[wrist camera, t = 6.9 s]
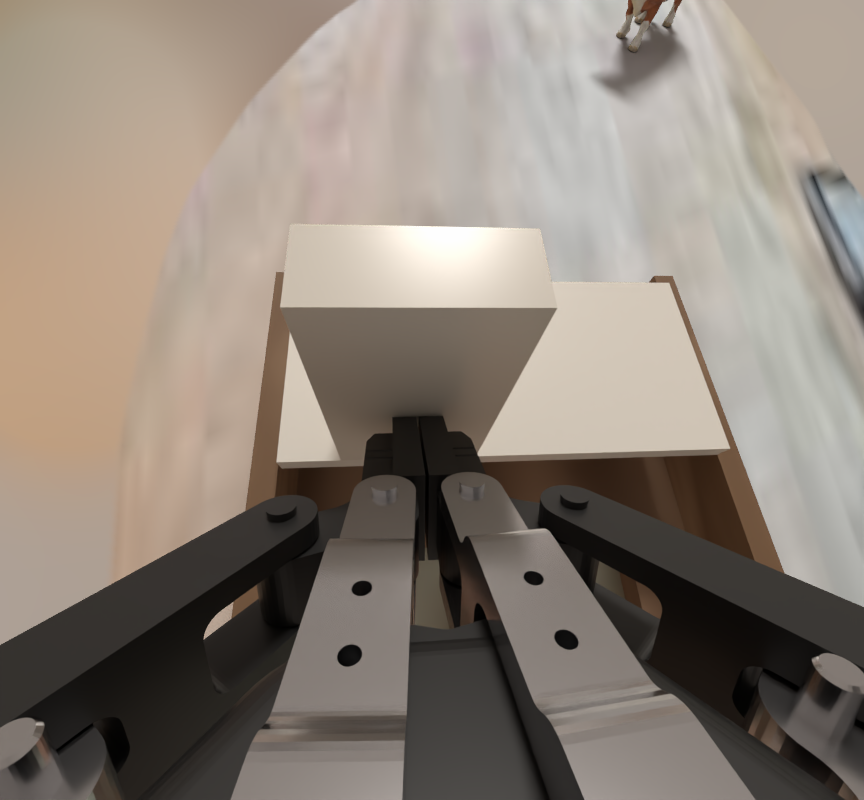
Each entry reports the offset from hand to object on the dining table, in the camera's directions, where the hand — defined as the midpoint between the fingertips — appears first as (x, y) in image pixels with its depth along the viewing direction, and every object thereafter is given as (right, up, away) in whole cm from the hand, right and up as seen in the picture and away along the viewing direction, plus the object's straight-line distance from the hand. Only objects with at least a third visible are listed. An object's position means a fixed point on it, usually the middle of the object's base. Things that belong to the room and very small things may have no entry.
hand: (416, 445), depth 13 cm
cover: (+3, +3, +6) cm, 7 cm away
